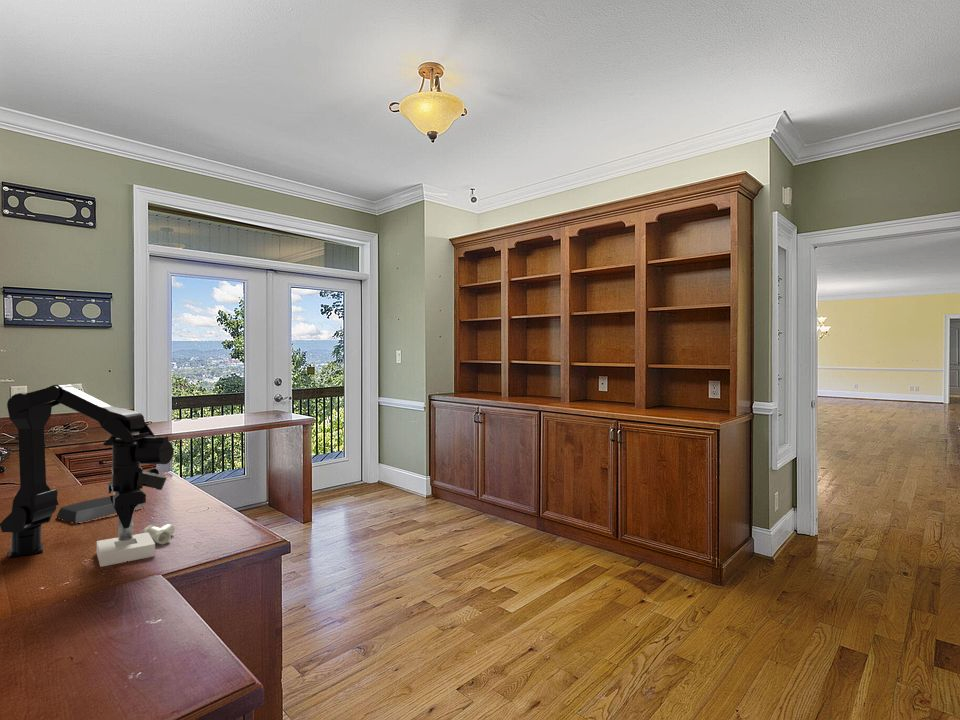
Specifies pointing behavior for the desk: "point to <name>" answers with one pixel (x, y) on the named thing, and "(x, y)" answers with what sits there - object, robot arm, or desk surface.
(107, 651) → the desk surface
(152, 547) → the hole block
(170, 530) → the pipe fitting
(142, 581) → the desk surface
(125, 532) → the metal peg
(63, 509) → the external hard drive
